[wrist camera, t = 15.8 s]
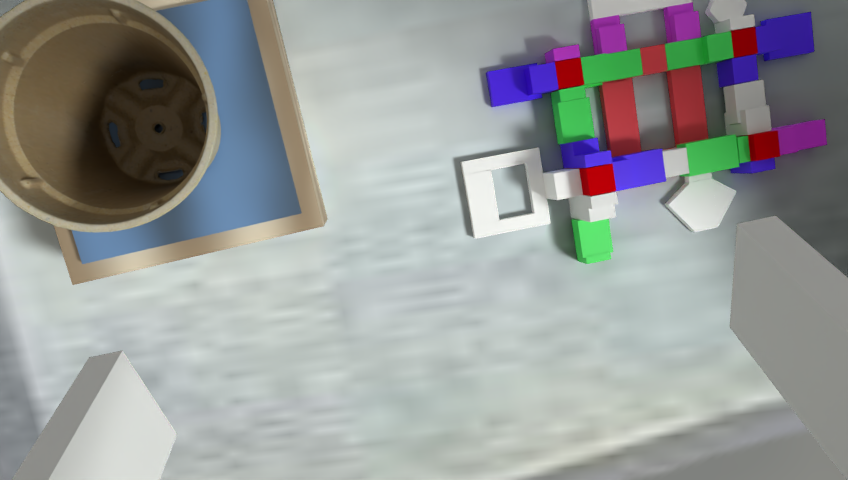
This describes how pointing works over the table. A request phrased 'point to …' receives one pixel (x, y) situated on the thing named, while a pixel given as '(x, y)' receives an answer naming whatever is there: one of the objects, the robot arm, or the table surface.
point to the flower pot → (100, 113)
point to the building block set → (624, 161)
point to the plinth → (222, 151)
